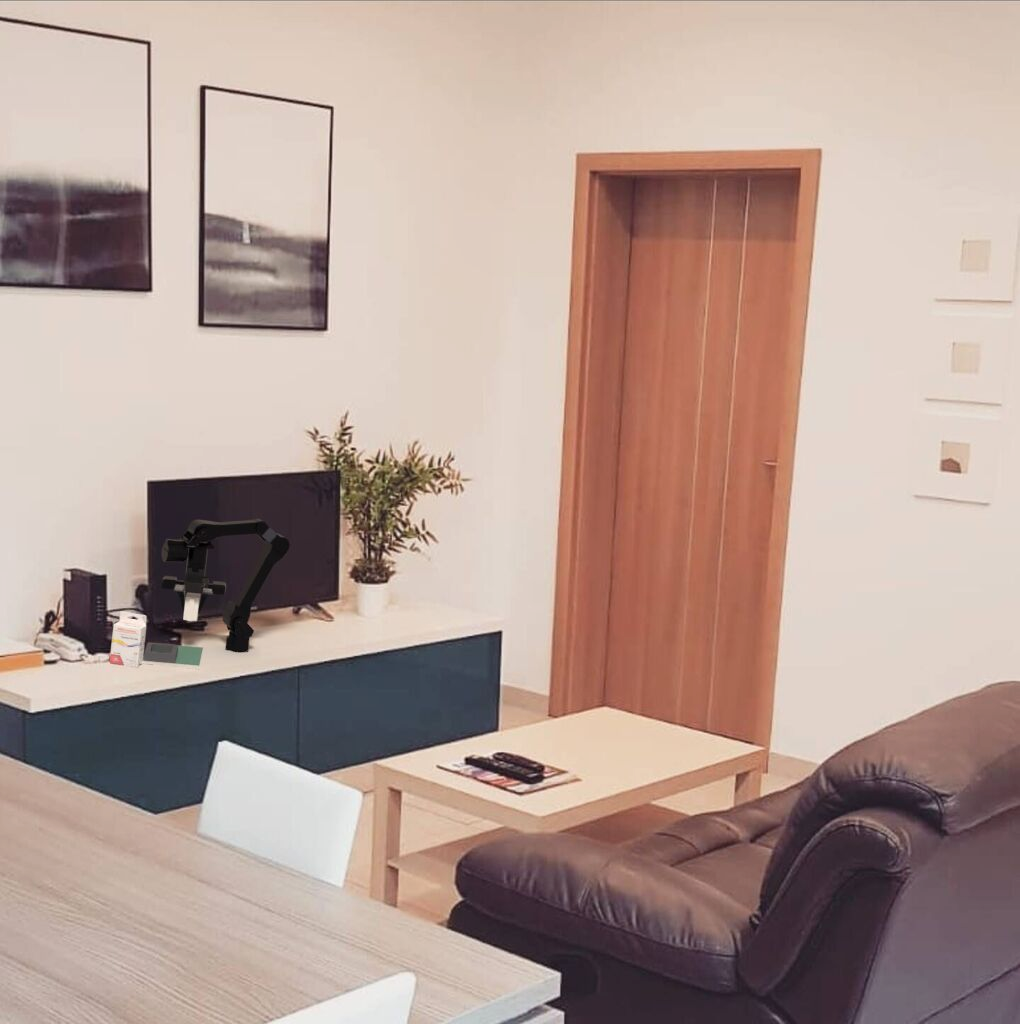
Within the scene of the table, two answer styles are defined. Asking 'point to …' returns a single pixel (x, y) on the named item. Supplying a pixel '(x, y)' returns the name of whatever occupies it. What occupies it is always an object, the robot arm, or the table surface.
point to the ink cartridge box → (128, 640)
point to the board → (172, 654)
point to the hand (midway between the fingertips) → (191, 613)
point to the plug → (191, 606)
